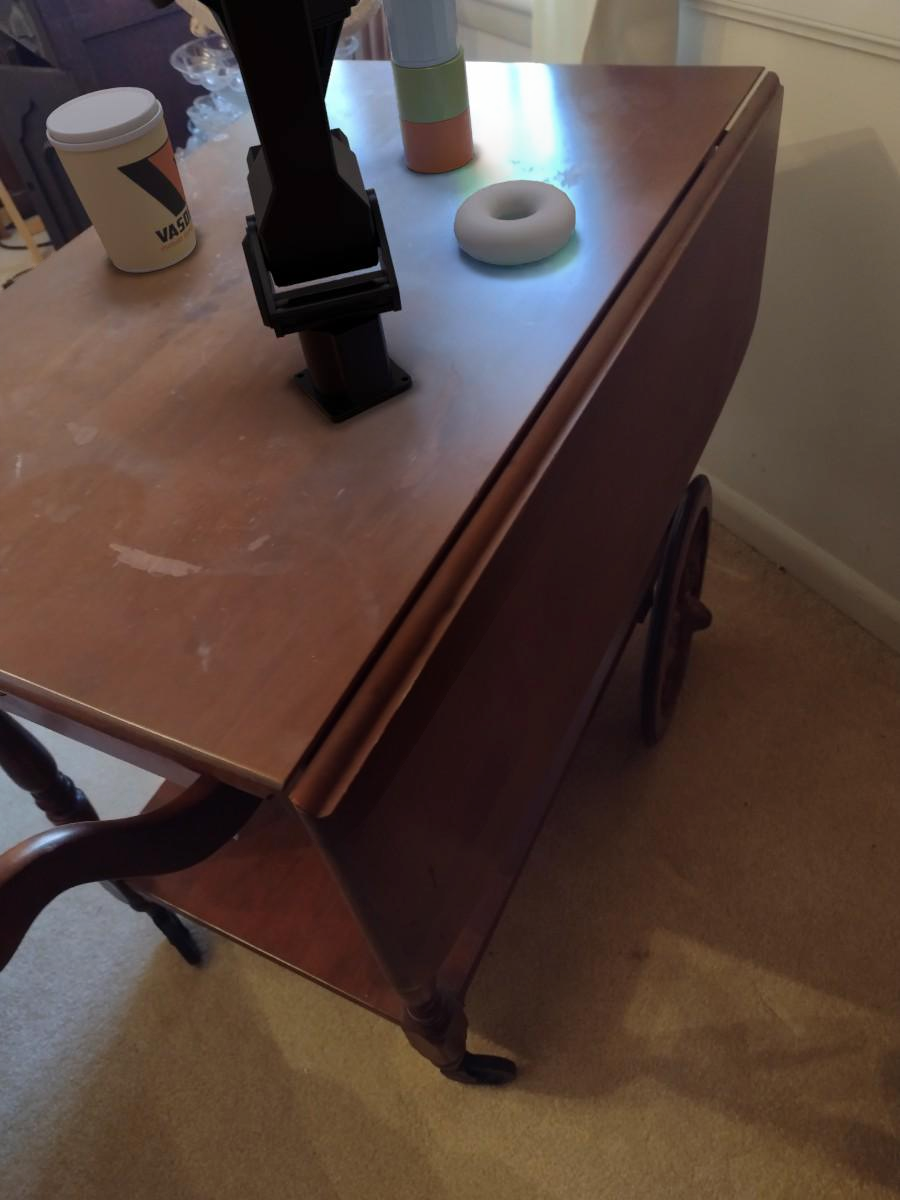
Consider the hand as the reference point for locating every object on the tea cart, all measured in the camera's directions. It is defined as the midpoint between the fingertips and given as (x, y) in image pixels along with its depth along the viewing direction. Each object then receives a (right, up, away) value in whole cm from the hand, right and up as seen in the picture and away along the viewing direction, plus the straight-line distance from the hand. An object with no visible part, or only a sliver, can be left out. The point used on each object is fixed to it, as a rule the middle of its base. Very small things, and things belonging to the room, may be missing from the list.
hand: (284, 103), depth 67 cm
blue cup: (+10, +12, +14) cm, 21 cm away
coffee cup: (-14, -5, +15) cm, 22 cm away
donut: (+17, -7, +9) cm, 21 cm away
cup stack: (+11, +6, +21) cm, 24 cm away
